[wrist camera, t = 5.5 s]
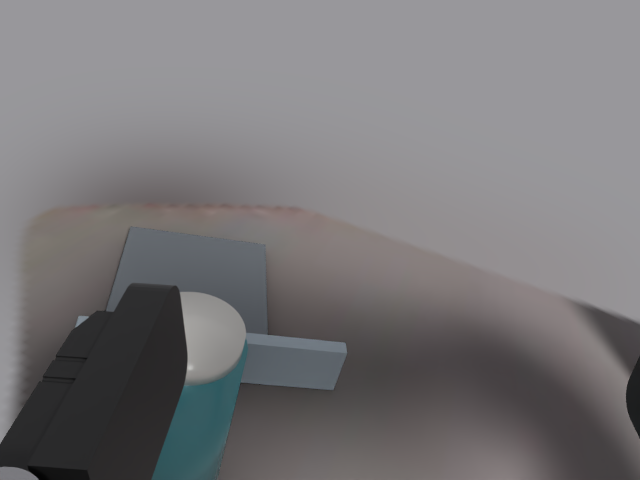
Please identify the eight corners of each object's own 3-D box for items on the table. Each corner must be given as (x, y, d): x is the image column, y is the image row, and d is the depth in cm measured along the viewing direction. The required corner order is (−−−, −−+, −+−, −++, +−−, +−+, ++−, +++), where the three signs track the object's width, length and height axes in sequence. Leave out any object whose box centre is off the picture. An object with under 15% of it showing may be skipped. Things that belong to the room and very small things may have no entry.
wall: (331, 379, 44) (345, 342, 41) (333, 390, 43) (347, 353, 40) (79, 357, 40) (79, 315, 37) (75, 368, 39) (75, 326, 37)
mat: (263, 253, 54) (265, 244, 54) (265, 358, 44) (268, 349, 43) (130, 235, 52) (130, 226, 51) (99, 342, 41) (99, 332, 41)
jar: (217, 446, 37) (251, 295, 30) (212, 532, 32) (251, 380, 25) (127, 440, 36) (140, 282, 28) (110, 529, 31) (119, 369, 24)
